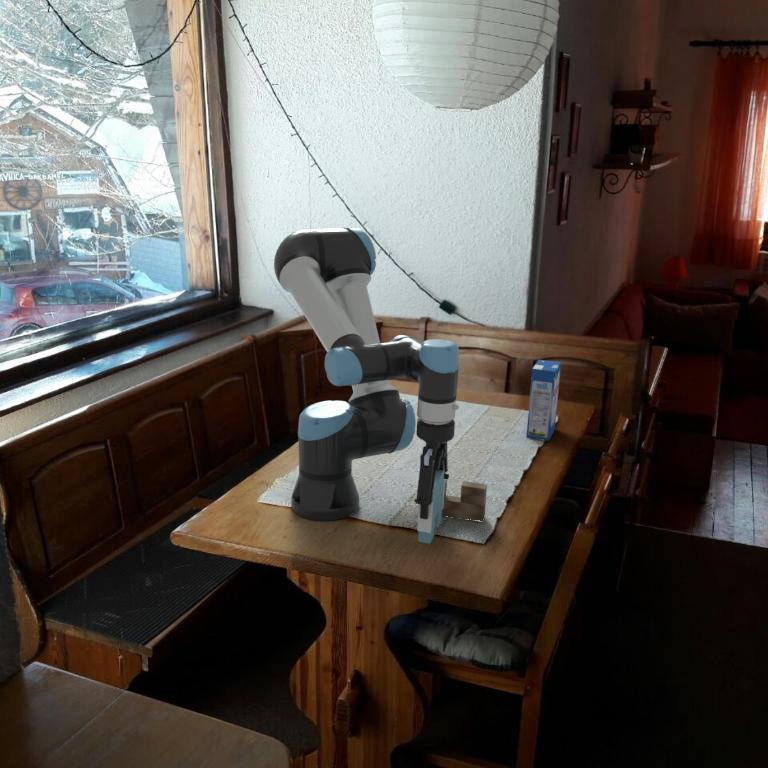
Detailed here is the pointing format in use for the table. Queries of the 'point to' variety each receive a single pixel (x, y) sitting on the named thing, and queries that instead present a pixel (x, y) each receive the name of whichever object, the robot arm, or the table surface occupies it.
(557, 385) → the milk carton
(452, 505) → the walnut slotted plate
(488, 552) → the table surface
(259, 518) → the table surface
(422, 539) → the teal slotted plate
